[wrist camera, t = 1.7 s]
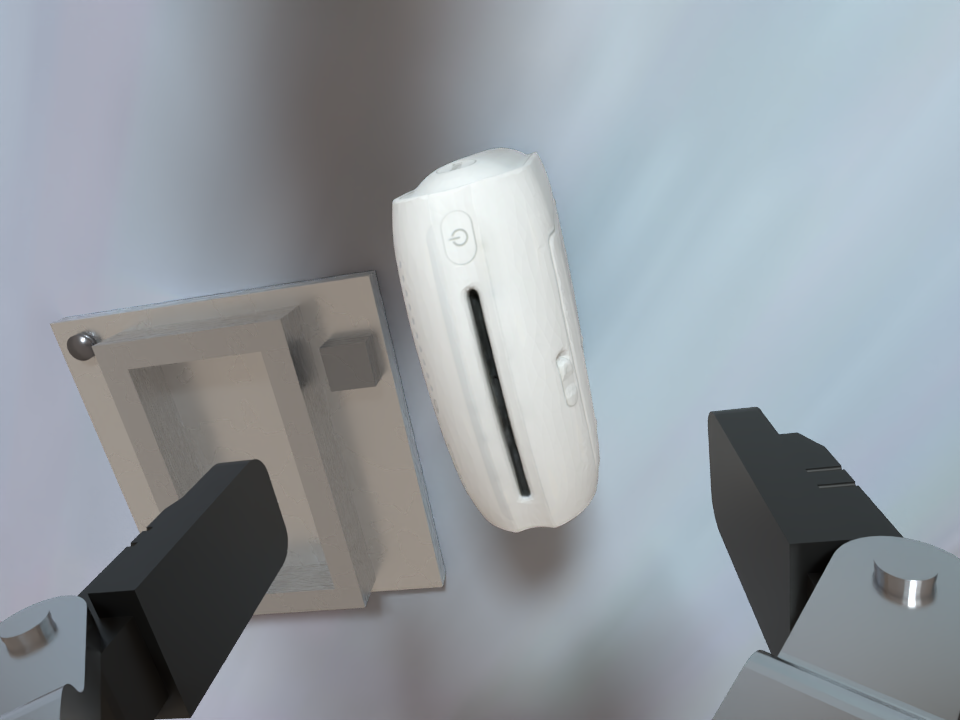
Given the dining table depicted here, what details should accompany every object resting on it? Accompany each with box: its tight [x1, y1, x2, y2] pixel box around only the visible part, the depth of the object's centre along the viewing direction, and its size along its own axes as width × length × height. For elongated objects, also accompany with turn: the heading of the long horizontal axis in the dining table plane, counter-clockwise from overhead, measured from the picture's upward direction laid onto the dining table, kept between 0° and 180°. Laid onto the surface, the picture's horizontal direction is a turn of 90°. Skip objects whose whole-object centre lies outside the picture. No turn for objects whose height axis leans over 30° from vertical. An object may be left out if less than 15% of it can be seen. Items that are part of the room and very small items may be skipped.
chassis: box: [50, 270, 446, 615], centre depth 29 cm, size 16×15×3 cm
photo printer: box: [392, 148, 600, 533], centre depth 20 cm, size 10×4×12 cm, turn 14°
